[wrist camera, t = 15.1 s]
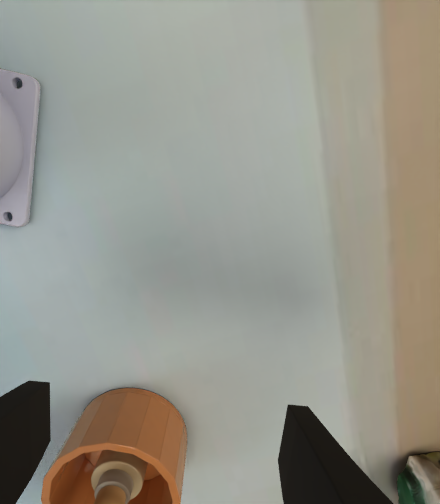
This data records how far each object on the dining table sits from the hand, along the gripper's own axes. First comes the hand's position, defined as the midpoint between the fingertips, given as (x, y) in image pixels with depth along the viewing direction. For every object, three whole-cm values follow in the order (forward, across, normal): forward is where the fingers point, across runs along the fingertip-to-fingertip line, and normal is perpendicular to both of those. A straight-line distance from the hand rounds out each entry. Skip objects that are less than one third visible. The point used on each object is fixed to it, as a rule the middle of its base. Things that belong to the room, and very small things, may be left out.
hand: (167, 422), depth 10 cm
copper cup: (+10, +3, +10) cm, 15 cm away
